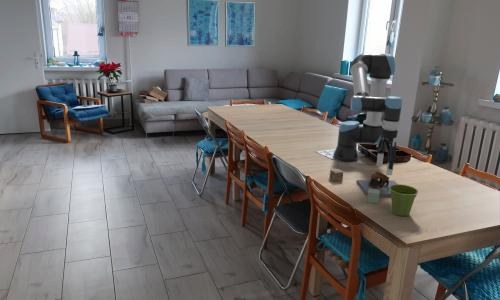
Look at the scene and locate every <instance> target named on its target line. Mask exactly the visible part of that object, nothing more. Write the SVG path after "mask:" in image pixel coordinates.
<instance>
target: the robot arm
mask: <svg viewBox="0 0 500 300" xmlns="http://www.w3.org/2000/svg"><path fill="white" fill-rule="evenodd" d="M395 72H396V62H395V57H394V55H393V54H389V53H377V52H376V53H374V52H373V53H372V52H365V53H360V54H359V55H357V56H356V57H355V58H354V59H353V60H352V61H351V63H350V66H349V73H350V75H351V77H352V85H353V87H352V88H353V95H352V96H351V98H350V110H351V111H353V112H366V117H365V118H366V119H364V120H363V122H362V124H360V121H357V120H346V121H343V122H341V123H340V124H339V127H338V136H337V143H336V144H337V146H336V148H335V150H334V152H333V155H332V156H333V159H334V160H335V161H338V162H343V163H356V162H358V161H359V153H358V148H357V146H358V144H362V145H377V147H376V151H377V158H376V167H383V162H384V157H385V155H384V154H385V150H386V152H387V157H388V158H387V159H388V161H387V162H386V163H387V165H386V171H385V175H386V176H392V175H393V172H394V171H393V170H394V164H396V163H397V142H396V141H394V139H396V138H397V137H398V131H399V127H400V119H401V111H402V107H403V99H402V97H400V96H397V95H396V96H395V95H394V96H393V95H391V96H386V90H387V89H386V88H387V83H388V81H389V80H390V79H391V76H394V74H395ZM367 75H369V76H367ZM368 78H369V79H370V80H371V82H370V90H369V83H368ZM382 116H383V117H382Z"/></svg>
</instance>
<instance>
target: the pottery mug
mask: <svg viewBox="0 0 500 300" xmlns="http://www.w3.org/2000/svg"><path fill="white" fill-rule="evenodd" d="M370 180H371V181H369V184H368V185H369V186H371V187H373V188H377V186H378V187H379V188H383V186H384V184H385V183H387V184H386V186H388V185H389V181H390V177H389V175H386V174H384V173H382V172H380V171H375V173H373V174H372V175H371V178H370Z"/></svg>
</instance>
